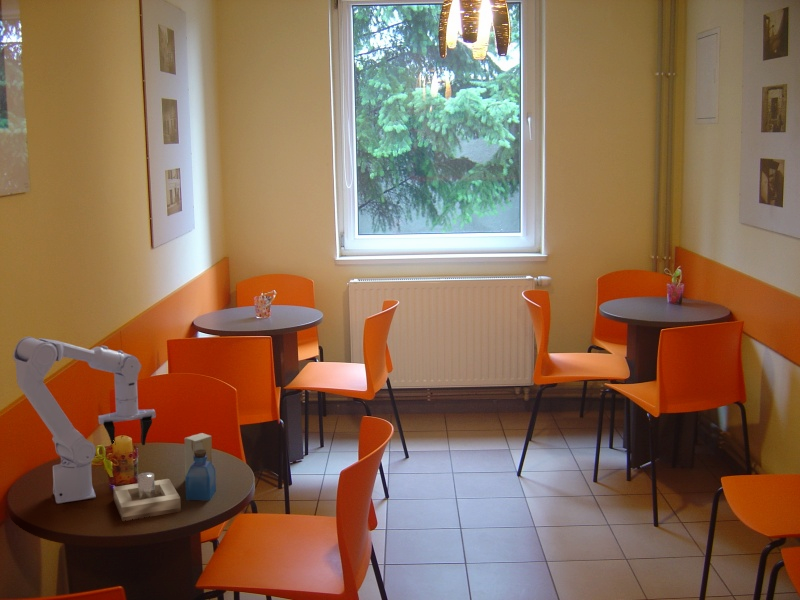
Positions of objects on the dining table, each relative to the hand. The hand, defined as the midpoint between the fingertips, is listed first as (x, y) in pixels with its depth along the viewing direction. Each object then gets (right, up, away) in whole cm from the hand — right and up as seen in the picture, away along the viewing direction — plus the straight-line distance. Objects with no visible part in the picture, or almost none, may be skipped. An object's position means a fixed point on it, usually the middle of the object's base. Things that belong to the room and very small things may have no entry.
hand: (128, 445), depth 231 cm
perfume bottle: (+22, -12, -8) cm, 26 cm away
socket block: (+10, -12, -16) cm, 22 cm away
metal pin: (+10, -11, -16) cm, 22 cm away
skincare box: (+19, -10, +2) cm, 21 cm away
